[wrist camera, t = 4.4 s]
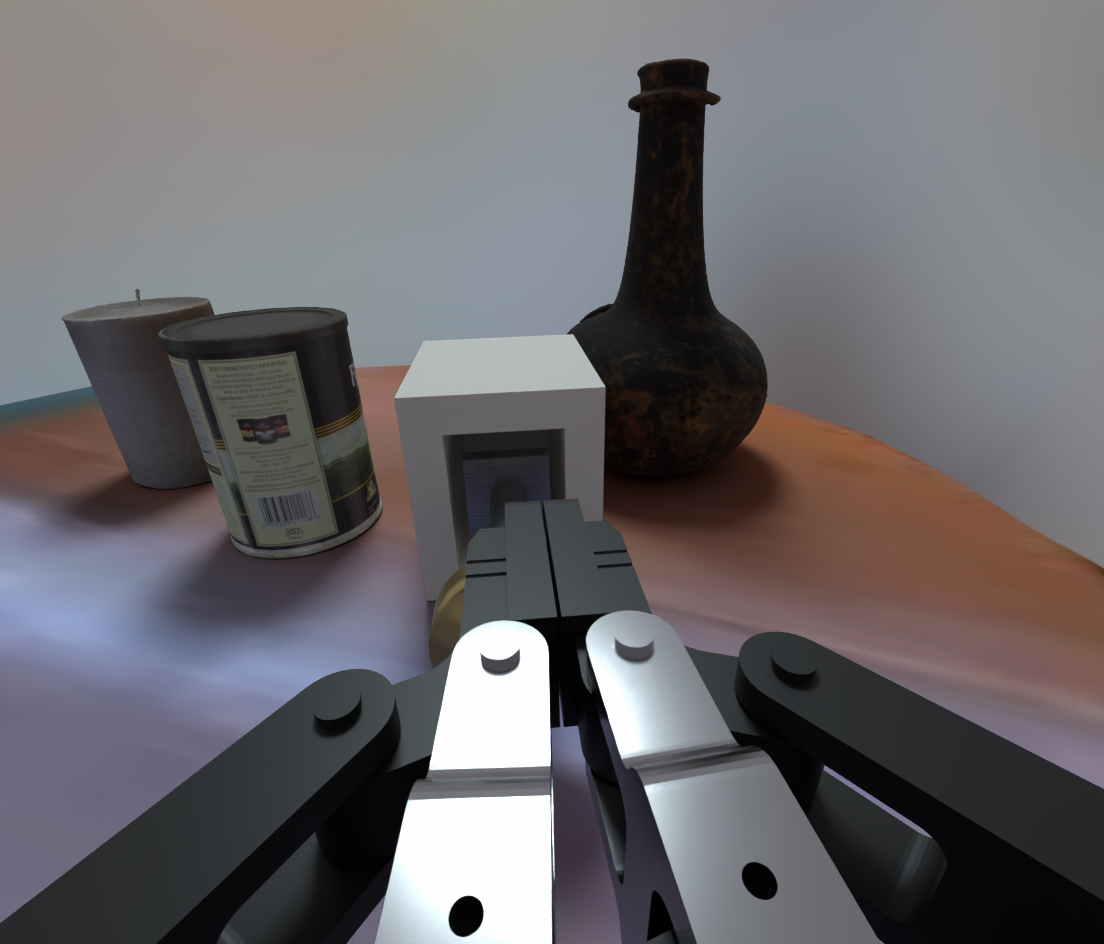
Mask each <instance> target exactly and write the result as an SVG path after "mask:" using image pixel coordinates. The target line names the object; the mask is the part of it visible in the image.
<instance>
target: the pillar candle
mask: <svg viewBox="0 0 1104 944" xmlns="http://www.w3.org/2000/svg"><path fill="white" fill-rule="evenodd" d="M135 291H136V298H137V301H129V302H121V303H115V304H107V305H101V306H95V307H92V308H87V309H83V310H78V311H75V312H72V313H68V314H65V315H64V316H63V318H61V319H62V320H63V321H64V323H65V325H66V327H67V329H68V332H69V334H70V336H71V339H72V341H73V343H74V345H75V348H76V350H77V352H78V355H79V357H80V359H81V361H82V364H83V366H84V368H85V371H86V373H87V375H88V378H89V380H90V382H91V384H92V387H93V389H94V392H95V394H96V396H97V398H98V400H99V403H100V405H101V408H102V410H103V412H104V415H105V417H106V419H107V422H108V424H109V427H110V429H111V431H112V433H113V435H114V438H115V440H116V442H117V444H118V447H119V449H120V451H121V453H122V456H123V458H124V460H125V462H126V465H127V467H128V470H129V472H130V474H131V477H132V479H133V480H134V482H135V483H136V484H140V485H143V486H147V487H151V488H155V489H174V488H183V487H187V486H194V485H199V484H202V483H206V482H209V481H212V479H211V476H210V473H209V470H208V468H207V464H206V462H205V459H204V456H203V453H202V450H201V448H200V445H199V442H198V439H197V436H196V433H195V430H194V428H193V425H192V422H191V419H190V416H189V413H188V410H187V408H186V405H185V402H184V399H183V396H182V393H181V391H180V388H179V385H178V382H177V379H176V376H175V374H174V371H173V368H172V365H171V362H170V359H169V356H168V353H167V351H166V349H165V348H164V347H163V346H162V344H161V342H160V339H159V337H158V333H159V332H160V331H161V330H163V329H165V328H166V327H169V326H171V325H174V324H177V323H180V322H184V321H188V320H193V319H198V318H202V317H207V316H212V315H214V312H213V309H212V306H211V304H210V301H209V300H208V299H206V298H198V297H174V298H157V299H147V300H140V296H139V292H140V291H139V289H136V290H135Z"/></svg>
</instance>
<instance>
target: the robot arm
mask: <svg viewBox="0 0 1104 944" xmlns="http://www.w3.org/2000/svg"><path fill="white" fill-rule="evenodd" d="M542 514H543V518H542ZM559 693H560V701H561V708H562V716H563V724H564V727H568V726H578V728H579V734H580V741H581V747H582V752H583V755H584V757H585V768H586V775H587V779H588V783H589V787H590V791H591V795H592V800H593V804H594V808H595V812H596V816H597V820H598V825H599V829H600V833H601V837H602V841H603V845H604V849H605V854H606V858H607V862H608V866H609V870H610V874H611V879H612V883H613V887H614V891H615V896H616V901H617V906H618V913H619V920H620V930H621V938H622V944H881V943H880V941H879V940H881V941H882V942H883V943H884V944H1104V789H1102V788H1101V787H1099V786H1097V785H1095V784H1093V783H1091V782H1089V781H1087V780H1085V779H1083V778H1081V777H1079V776H1077V775H1075V774H1073V773H1071V772H1069V771H1067V770H1065V769H1063V768H1061V767H1059V766H1057V765H1055V764H1053V763H1051V762H1049V761H1047V760H1045V759H1043V758H1042V757H1040V756H1038V755H1036V754H1034V753H1032V752H1030V751H1028V750H1026V749H1024V748H1022V747H1020V746H1018V745H1016V744H1014V743H1012V742H1010V741H1008V740H1006V739H1004V738H1002V737H1000V736H998V735H996V734H994V733H992V732H990V731H988V730H986V729H985V728H983V727H981V726H979V725H977V724H975V723H973V722H971V721H969V720H967V719H965V718H963V717H961V716H959V715H957V714H955V713H953V712H951V711H949V710H947V709H945V708H943V707H941V706H939V705H937V704H935V703H933V702H931V701H929V700H927V699H926V698H924V697H922V696H920V695H918V694H916V693H914V692H912V691H910V690H908V689H906V688H904V687H902V686H900V685H898V684H896V683H894V682H892V681H890V680H888V679H886V678H884V677H882V676H880V675H878V674H876V673H874V672H872V671H870V670H868V669H867V668H865V667H863V666H861V665H859V664H857V663H855V662H853V661H851V660H849V659H847V658H845V657H843V656H841V655H839V654H837V653H835V652H833V651H831V650H829V649H827V648H825V647H823V646H821V645H819V644H817V643H815V642H813V641H811V640H809V639H807V638H804V637H801V636H798V635H795V634H790V633H784V632H766V633H761V634H757V635H755V636H753V637H751V638H749V639H748V640H747V641H745V643H744V644H743V645H742V647H741V649H740V653H739V657H734V656H728V655H722V654H716V653H710V652H704V651H700V650H696V649H692V648H689V647H687V646H684V645H683V643H682V641H681V639H680V637H679V636H678V634H677V633H676V631H675V630H674V629H673V628H672V627H671V626H670V625H669V624H668V623H667V622H665V621H664V620H662V619H660V618H659V617H656V616H654V615H652V614H651V611H650V608H649V606H648V603H647V601H646V598H645V595H644V593H643V590H642V588H641V585H640V582H639V580H638V577H637V575H636V572H635V569H634V567H633V566H632V562H631V559H630V556H629V554H628V553H627V549H626V546H625V543H624V541H623V538H622V536H621V533H620V532H618V531H617V530H616V529H615V528H614V527H613V526H611V525H610V524H609V523H608V522H607V521H605V520H602V521H587V522H585V521H584V518H583V514H582V511H581V507H580V504H579V500H578V498H575V499H559V500H544V501H543V502H542V512H541V505H540V501H527V502H511V503H505V527H498V528H483V529H479V531H478V532H477V533H476V534H475V536H474V537H473V538H472V540H471V541H470V542H469V543H468V551H467V564H466V579H465V586H464V598H463V609H462V621H461V633H460V638H459V641H458V643H457V644H456V646H455V648H454V651H453V652H452V653H451V654H450V655H449V657H448V658H447V659H446V660H444V661H443V662H442V663H441V664H440V665H438V666H437V667H435V668H434V669H432V670H430V671H428V672H426V673H424V674H422V675H419V676H417V677H414V678H411V679H408V680H405V681H403V682H400V683H397V684H394V685H391V683H390V682H389V681H388V680H387V678H385V677H384V676H383V675H381V674H379V673H377V672H374V671H371V670H365V669H350V670H344V671H340V672H336V673H333V674H330V675H328V676H325V677H323V678H321V679H319V680H317V681H316V682H314V683H312V684H311V685H310V686H308V687H307V688H305V689H304V690H303V691H301V692H300V693H299V694H298V695H296V696H295V697H294V698H292V699H291V700H290V701H288V702H287V703H286V704H285V705H283V706H282V707H281V708H279V709H278V710H277V711H275V712H274V713H273V714H272V715H270V716H269V717H268V718H266V719H265V720H264V721H262V722H261V723H260V724H259V725H257V726H256V727H255V728H253V729H252V730H251V731H249V732H248V733H247V734H246V735H244V736H243V737H242V738H240V739H239V740H238V741H236V742H235V743H234V744H233V745H231V746H230V747H229V748H227V749H226V750H225V751H223V752H222V753H221V754H220V755H218V756H217V757H216V758H214V759H213V760H212V761H210V762H209V763H208V764H207V765H205V766H204V767H203V768H201V769H200V770H199V771H197V772H196V773H195V774H194V775H192V776H191V777H190V778H188V779H187V780H186V781H184V782H183V783H182V784H181V785H179V786H178V787H177V788H175V789H174V790H173V791H171V792H170V793H169V794H168V795H166V796H165V797H164V798H162V799H161V800H160V801H158V802H157V803H156V804H155V805H153V806H152V807H151V808H149V809H148V810H147V811H145V812H144V813H143V814H142V815H140V816H139V817H138V818H136V819H135V820H134V821H132V822H131V823H130V824H129V825H127V826H126V827H125V828H123V829H122V830H121V831H119V832H118V833H117V834H116V835H114V836H113V837H112V838H110V839H109V840H108V841H106V842H105V843H104V844H103V845H101V846H100V847H99V848H97V849H96V850H95V851H93V852H92V853H91V854H90V855H88V856H87V857H86V858H84V859H83V860H82V861H80V862H79V863H78V864H77V865H75V866H74V867H73V868H71V869H70V870H69V871H68V872H66V873H65V874H64V875H62V876H61V877H60V878H58V879H57V880H56V881H55V882H53V883H52V884H51V885H49V886H48V887H47V888H45V889H44V890H43V891H42V892H40V893H39V894H38V895H36V896H35V897H34V898H32V899H31V900H30V901H29V902H27V903H26V904H25V905H23V906H22V907H21V908H19V909H18V910H17V911H16V912H14V913H13V914H12V915H10V916H9V917H8V918H6V919H5V920H4V921H3V922H1V923H0V944H346V943H347V942H348V941H349V940H350V938H351V937H352V936H353V935H354V933H355V932H356V931H357V930H358V928H359V927H360V926H361V925H362V923H363V922H364V921H365V919H366V918H367V917H368V916H369V914H370V913H371V912H372V911H373V909H374V908H375V907H376V906H377V904H378V903H379V902H380V901H381V899H382V898H383V897H384V896H385V894H386V898H385V902H384V907H383V911H382V915H381V920H380V924H379V929H378V933H377V937H376V942H375V944H556V912H555V862H554V811H553V767H552V741H551V728H555V727H560V713H559ZM824 765H826V766H827V767H829V768H830V769H832V770H833V771H835V772H836V773H838V774H839V775H841V776H843V777H844V778H846V779H847V780H849V781H850V782H852V783H853V784H855V785H856V786H858V787H859V788H861V789H863V790H864V791H866V792H867V793H869V794H870V795H872V796H873V797H875V798H876V799H878V800H879V801H881V802H883V803H884V804H886V805H887V806H889V807H890V808H892V809H893V810H895V811H896V812H898V813H899V814H901V815H902V816H904V817H906V818H907V819H909V820H910V821H912V822H913V823H915V824H916V825H918V826H919V827H921V828H922V829H923V830H925V831H926V832H927V833H928V834H929V835H930V836H931V837H932V838H930V837H927V836H925V835H923V834H921V833H919V832H917V831H915V830H914V829H912V828H911V827H909V826H908V825H906V824H905V823H903V822H902V821H900V820H899V819H897V818H895V817H894V816H892V815H891V814H889V813H888V812H886V811H885V810H883V809H882V808H880V807H879V806H877V805H876V804H874V803H873V802H871V801H870V800H868V799H867V798H865V797H864V796H862V795H860V794H859V793H857V792H856V791H854V790H853V789H851V788H850V787H848V786H847V785H845V784H844V783H842V782H841V781H839V780H838V779H836V778H835V777H833V776H832V775H830V774H829V773H827V772H825V771H824V770H823V768H824ZM878 939H879V940H878Z"/></svg>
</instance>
